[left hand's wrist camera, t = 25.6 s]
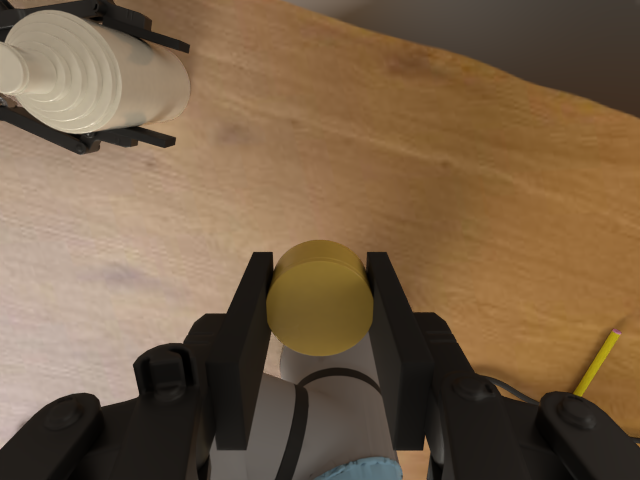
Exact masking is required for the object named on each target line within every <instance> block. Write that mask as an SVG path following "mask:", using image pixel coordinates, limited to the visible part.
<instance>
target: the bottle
mask: <svg viewBox="0 0 640 480" xmlns="http://www.w3.org/2000/svg"><path fill="white" fill-rule="evenodd" d="M0 93H3V94H6V95H15V97H16V98H17V100H18V101H19V102H20V104H21V105H22V106H23V107H24V108H25V109H26V110H27V111H28V112H29V113H30V114H32V115H33V116H34V117H35V118H37V119H39V120H40V121H41V122H43V123H45V124H46V125H48V126H50V127H52V128H54V129H57V130H59V131H63V132H67V133H74V134H81V133H89V132H97V131H104V130H112V129H119V128H127V127H134V126H141V125H149V124H156V123H163V122H168V121H171V120H173V119H175V118H176V117H178V116H179V115H180V114H181V113H182V112H183V111H184V109H185V108H186V106H187V104H188V101H189V97H190V81H189V77H188V74H187V71H186V69H185V67H184V65H183V64H182V62H181V61H180V60H179V58H178V57H177V56H176V55H175V54H174V53H172V52H171V51H170V50H168V49H167V48H165V47H163V46H160V45H158V44H155V43H152V42H149V41H146V40H144V39H141V38H138V37H135V36H132V35H129V34H126V33H124V32H121V31H118V30H115V29H112V28H110V27H107V26H104V25H101V24H98V23H95V22H93V21H90V20H87V19H84V18H81V17H78V16H76V15H73V14H70V13H66V12H63V11H57V10H43V11H37V12H35V13H32V14H30V15H28V16H26V17H24V18H23V19H22V20H20V21H19V22H18V23H16V24H15V25H14V26H13V28H12V29H11V30H10V32H9V33H8V35H7V37H6V40H5V43H4V42H1V41H0Z"/></svg>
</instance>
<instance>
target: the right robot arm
mask: <svg viewBox="0 0 640 480" xmlns="http://www.w3.org/2000/svg"><path fill="white" fill-rule="evenodd" d="M43 10H57V11H63V12H66V13H70V14H73V15H76V16H78V17H81V18H84V19H87V20H90V21H93V22H95V23H101V22H103V24H102V25H104V26H107V27H110V28H112V29H115V30H118V31H121V32H124V33H126V34H129V35H132V36H135V37H138V38H141V39H144V40H147V41H150V42H154V43H157V44H160V45H163V46H166V47H169V48H173V49H176V50H179V51H182V52H185V53H188V54H189V48H190V45H189V44H187V43H184V42H182V41H180V40H177V39H173V38H170V37H167V36H164V35H161V34H158V33H155V32H151V25H152V20H151V19H149V18H148V17H147V16H145V15H143V14H141V13H138V12H135V11H132V10H129V9H126V8H123V7H120V6H117V5H115V3H114V2H113V0H81V1H74V2H68V3H61V4H55V5H48V6H42V7H35V8H29V9H15V8H14V7H13V6H12V5H11V4H10V3H9V2H8V1H7V0H0V41H1V42H4V43H5V40H6V37H7V35H8V33H9V32H10V30H11V29H12V28H13V26H14V25H15V24H16V23H18V22H19V21H20V20H22V19H23V18H24V17H26V16H28V15H30V14H32V13H35V12H37V11H43ZM0 120H1V121H6V122H8V123H10V124H13V125H15V126H17V127H19V128H21V129H24V130H26V131H28V132H30V133H33V134H35V135H37V136H39V137H41V138H44V139H46V140H48V141H50V142H53V143H55V144H57V145H59V146H61V147H64V148H66V149H68V150H70V151H72V152H75V153H77V154H80V155H82V154H87V153H92V152H96V151H98V150H99V149H100V142H101V141H105V142H108V143H112V144H115V145H119V146H122V147H132V146H137V145H138V141H142V142H145V143H149V144H152V145H156V146H159V147H163V148H166V147H170V146H173V145H175V141H176V137H172V136H169V135H165V134H162V133H159V132H155V131H152V130H148V129H145V128H141V127H138V126H134V127H127V128H119V129H112V130H104V131H97V132H89V133H81V134H74V133H67V132H63V131H59V130H57V129H54V128H52V127H50V126H48V125H46V124H45V123H43V122H41V121H40V120H39V119H37V118H35V117H34V116H33V115H32V114H30V113H29V112H28V111H27V110H26V109H25V108H23V107H18V106H17V103H16V102H15V101H13V100H12V99H10V98H8V97H6V96H4V95H3V93H0Z"/></svg>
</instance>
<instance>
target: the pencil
mask: <svg viewBox="0 0 640 480" xmlns="http://www.w3.org/2000/svg"><path fill="white" fill-rule="evenodd" d="M620 334H621V332H620V331H619V330H617V329H613V330H612V331H611V333H610V335H609V336H608V338H607V339H606V341H605V343H604V344H603V346H602V347H601V349H600V351H599V352H598V354H597V356H596V357H595V359H594V360H593V362H592V364H591V365H590V367H589V369H588V370H587V372H586V373H585V375H584V377H583V378H582V380H581V381H580V383H579V385H578V386H577V388H576V390H575V391H574V393H573V394H574V395H577V396H580V397H581V396H582V395H583V393H584V391H585V390H586V388H587V387H588V385H589V384H590V382H591V380H592V379H593V377H594V376H595V374H596V372H597V371H598V369H599V368H600V366H601V365H602V363H603V361H604V360H605V358H606V357H607V355H608V353H609V352H610V350H611V349H612V347H613V346H614V344H615V342H616V341H617V339H618V338H619V336H620Z"/></svg>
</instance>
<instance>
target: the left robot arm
mask: <svg viewBox="0 0 640 480" xmlns="http://www.w3.org/2000/svg"><path fill="white" fill-rule="evenodd" d="M273 272H274V269H273V252H253V254H252V257H251V259H250V261H249V263H248V266H247V268H246V270H245V273H244V275H243V277H242V279H241V282H240V284H239V286H238V288H237V291H236V293H235V295H234V298H233V300H232V302H231V304H230V307H229V309H228V311H227V314H205V315H203V316H202V317H201V318H200V319H198V320H197V321H196V322H194V324H193V326H192V328H191V329H190V331H189V333H188V335H187V336H186V338H185V340H184V342H183V344H182V343H168V344H164V345H159V346H157V347H154V348H152V349H150V350H147V351H146V352H145V353H143V354H142V355H141V356H139V357H138V358H137V360H136V361H135V363H134V364H133V368H134V372H135V377H136V381H137V386H138V390H139V397H137V398H134V399H131V400H128V401H124V402H120V403H116V404H112V405H108V406H103V407H101V405H100V401H99V399H98V398H97V397H96V396H95V395H92V394H88V393H77V394H71V395H68V396H65V397H62V398H59V399H57V400H55V401H53V402H51V403H49V404H47V405H46V406H44V407H43V408H42V409H41V410H39V411H38V412H37V413H36V414H35V415H34V416H33V417H32V418H31V419H30V420H29V421H28V422H27V423H26V424H25V425H24V426H23V427H22V428H21V429H20V430H19V431H18V432H17V433H16V434H15V435H14V436H13V437H12V438H11V439H10V440H9V441H8V442H7V443H6V444H5V445H4V446H3V447H2V448H1V449H0V480H402V478H403V474H402V469H401V466H400V465H399V461H398V457H397V452H396V450H423V447H424V439H425V435H426V439H427V442H428V445H429V448H430V451H431V453H430V460H429V467H428V473H427V480H640V447H639V446H638V445H637V444H636V443H639V444H640V438H634V437H629V436H628V435H627V434H626V433H625V432H624V431H623V430H622V429H621V428H620V427H619V426H618V425H617V424H616V423H615V422H614V421H613V420H612V419H611V418H610V417H609V416H608V415H607V414H606V413H605V412H604V411H603V410H602V409H600V408H599V407H598V406H597V405H595V404H594V403H592V402H590V401H588V400H586V399H585V398H583V397H580V396H577V395H574V394H571V393H568V392H558V391H554V392H550V393H546V394H545V395H544V396H543V397H542V398H541V400H540V403H539V402H537V401H535V400H533V399H531V398H529V397H527V396H525V395H524V394H522V393H520V392H519V391H517V390H516V389H514V388H512V387H511V386H509V385H508V384H506V383H504V382H502V381H500V380H497V379H494V378H491V377H487V376H482V375H479V374H477V373H475V372H474V370H473V369H472V367H471V365H470V363H469V362H468V360H467V358H466V356H465V355H464V353H463V351H462V349H461V348H460V346H459V344H458V343H457V342H456V339H455V337H454V335H453V334H452V332H451V330H450V328H449V327H448V325H447V323H446V321H444V320H443V319H442V318H441V317H439V316H438V315H437V314H435V313H434V312H412V310H411V307H410V305H409V303H408V300H407V298H406V296H405V294H404V291H403V289H402V287H401V284H400V282H399V280H398V278H397V275H396V273H395V271H394V269H393V266H392V264H391V262H390V259H389V257H388V255H387V253H386V252H367V265H366V273H367V277H368V280H369V284H370V288H371V291H372V295H373V299H374V304H373V320H372V324H371V327H370V328H369V330H368V332H367V333H366V335H365V336H364V337H363V338H362V339H361V340H360V341H359V342H358V343H357V344H356V345H354V346H353V347H351V348H350V349H348V350H346V351H344V352H341V353H338V354H334V355H329V356H311V355H306V354H302V353H299V352H296V351H294V350H292V349H290V348H289V347H287V346H285V345H283V348H282V353H281V359H280V372H281V378H282V379H280V378H277V377H274V376H272V375H269V374H266V373H263V370H264V365H265V360H266V355H267V350H268V346H269V341H270V336H271V329H270V327H269V325H268V322H267V308H266V298H267V294H268V290H269V286H270V283H271V279H272V275H273ZM494 384H495V385H498V386H500V387H502V388H504V389H506V390H507V391H509V392H511V393H512V394H514V395H515V396H517V397H518V398H520V399H522V400H524V401H526V402H528V403H526V402H522V401H517V400H513V399H510V398H507V397H504V396H502V395H501V394H500V392H499V391H498V389H497V387H496V386H495V385H494Z"/></svg>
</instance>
